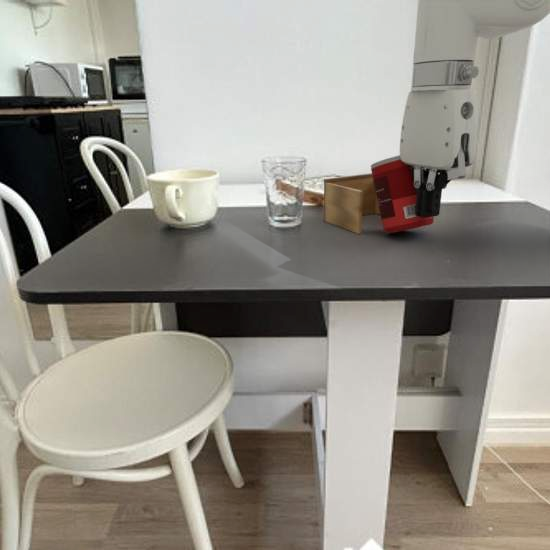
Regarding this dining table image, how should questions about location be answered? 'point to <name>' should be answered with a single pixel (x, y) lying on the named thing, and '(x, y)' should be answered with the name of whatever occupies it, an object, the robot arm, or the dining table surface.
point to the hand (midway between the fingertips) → (427, 215)
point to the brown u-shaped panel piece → (349, 200)
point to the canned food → (396, 195)
